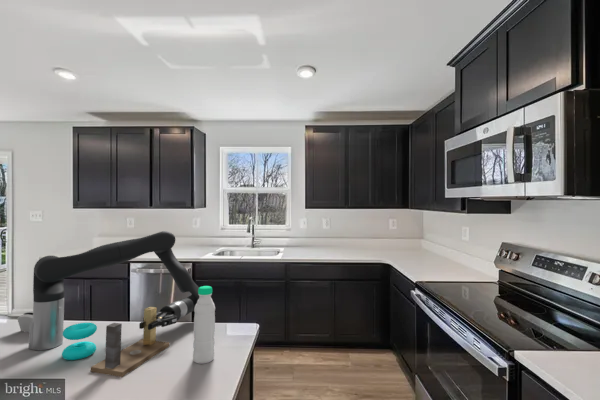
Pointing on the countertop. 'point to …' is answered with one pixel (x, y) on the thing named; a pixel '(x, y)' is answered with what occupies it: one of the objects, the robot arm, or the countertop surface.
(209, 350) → the water bottle
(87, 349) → the donuts
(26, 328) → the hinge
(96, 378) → the countertop surface
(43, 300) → the robot arm
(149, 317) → the brass leg
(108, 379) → the countertop surface
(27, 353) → the countertop surface
